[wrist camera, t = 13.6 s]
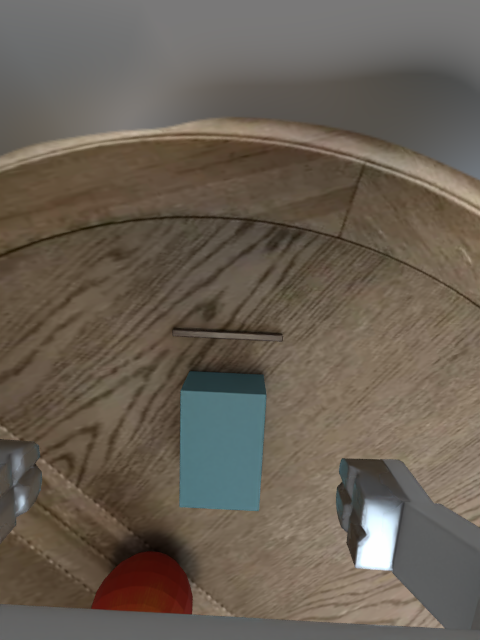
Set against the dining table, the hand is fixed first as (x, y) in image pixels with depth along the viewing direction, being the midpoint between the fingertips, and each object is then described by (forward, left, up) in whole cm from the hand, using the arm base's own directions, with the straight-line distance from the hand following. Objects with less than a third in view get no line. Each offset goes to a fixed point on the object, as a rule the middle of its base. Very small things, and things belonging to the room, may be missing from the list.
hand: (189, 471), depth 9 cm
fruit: (+28, -7, -22) cm, 37 cm away
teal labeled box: (+11, 0, -17) cm, 21 cm away
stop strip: (+2, 0, -22) cm, 22 cm away
